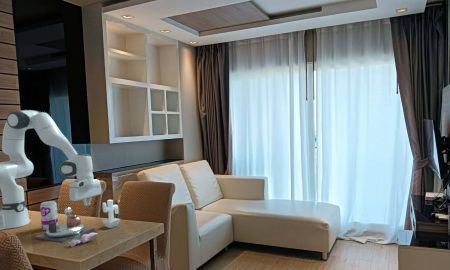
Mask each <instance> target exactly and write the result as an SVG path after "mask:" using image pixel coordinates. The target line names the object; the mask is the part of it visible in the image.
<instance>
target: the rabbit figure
mask: <svg viewBox="0 0 450 270" xmlns="http://www.w3.org/2000/svg"><path fill="white" fill-rule="evenodd" d="M77 234H78V235H77V236H76V237H75V238H72V239H70V241H66V242H67V243H65V247H67V248H69V247H71V248H73V247H75V246H76V245H79V244H80V243H82V244H85V243H87V242H89V240H90V239H91V238H92V237H94V236H96V235H98V233H97V232H88V234H87V233H85V234H82V235H80V233H77ZM79 238H80V239H79Z"/></svg>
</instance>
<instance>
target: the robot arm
mask: <svg viewBox="0 0 450 270" xmlns="http://www.w3.org/2000/svg"><path fill="white" fill-rule="evenodd" d="M32 129H34V130H35V132H36V133H37V136H38V137H39V139H40V140H41V141H42V142H43V143H44V144H45V145H47V146H51V147H54V148H57V149H59V150H60V151H62V152H63V153H64V155H65V156H66V158H67V160H65V161H62V162H61V163H60V165H59V168H58V169H59V173H60V175H61V176H63V177H64V178H70V177H76V179H75V180H73V181H71V182H70V183H69V192H68V194H69V200H70V201H71V202H77V201H82V203H83V205H84V207H87V206H90V205H91V201H92V199H93V198H92V197H95V196H99V195H102V185H101V180H99V178H96V179H94V174H93V170H94V169H93V167H94V166H93V165H94V164H93V160H92V159H93V158H92V156H91V155H90V154H89V153H81V152H80V153H79V152H78V151H77V150H76V148H75V147H74V146H73V144H72V142H71V141H70V140H69V139H68V138H67V136H65V135H64V134H63V133H62V131H61V130H60V128H59V127H58V125H57V124H56V122H55V121H54V119H53V118H52V117H51V116H50V114H49V113H47V112H45V111H44V112H43V111H42V112H41V111H39V110H33V109H32V110H31V109H29V110H28V109H24V110H14V111H12V112H11V111H10V112H9V113H8V114H7V116H6V122H5V124H4V128H3V130H2V131H3V132H2V140H1V141H2V143H1V151H2V152H3V154H5V155H7V156H8V157H9V160H8V161H7V160H6V161H2V162H0V191H1V198H2V199H1V200H2V203H0V231H2V230H8V229H14V228H20V227H23V226H24V227H25V226H27V225H28V224H30V222H31V221H32V220H31V219H30V215H29V211H28V208H27V207H26V206H27V203H26V200H25V190H24V187H23V186H22V185H20V184H17V182H16V179H20V178H25V177H28V176H30V175H32V174H33V171H34V164H33V162H32V161H31V160H30V159H28V158H27V156H26V154H25V134H26V131H27V130H32Z"/></svg>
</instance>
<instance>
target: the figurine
mask: <svg viewBox="0 0 450 270" xmlns="http://www.w3.org/2000/svg"><path fill="white" fill-rule="evenodd" d="M102 211H103V213H108V218H107V219H103V220H102V221H101V222H102V224H103V225H104V226H105V227H106V228H109V229H110V228H111V229H112V228H114V227H117V226H119V223H120V222H121V218H117V217H114V214H116V215H117V214H119V205H118V204H114V200H113V199H108V200H107V203H106V202H102Z"/></svg>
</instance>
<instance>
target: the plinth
mask: <svg viewBox="0 0 450 270" xmlns="http://www.w3.org/2000/svg"><path fill="white" fill-rule="evenodd" d="M94 230H95V228H94V227H87V226H84V230H83V231H81V232H79V233H80V236H82V235H84V234H87V233H88V234H89V233H91V232H93V231H94ZM77 235H78V234H74V235H70V236H64V237H48V236H47V233H46V232H44V233H42V234H39V235H36V236H35V239H36V240H37V239H39V240H43V241H44V240H45V241H46V240H47V241H51V242H52V241H53V242H59V243H64V242H68V241H71V240H73V239H74V238H75V237H76V236H77Z"/></svg>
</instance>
